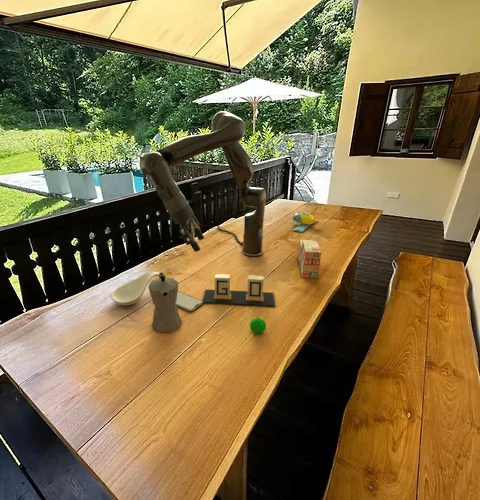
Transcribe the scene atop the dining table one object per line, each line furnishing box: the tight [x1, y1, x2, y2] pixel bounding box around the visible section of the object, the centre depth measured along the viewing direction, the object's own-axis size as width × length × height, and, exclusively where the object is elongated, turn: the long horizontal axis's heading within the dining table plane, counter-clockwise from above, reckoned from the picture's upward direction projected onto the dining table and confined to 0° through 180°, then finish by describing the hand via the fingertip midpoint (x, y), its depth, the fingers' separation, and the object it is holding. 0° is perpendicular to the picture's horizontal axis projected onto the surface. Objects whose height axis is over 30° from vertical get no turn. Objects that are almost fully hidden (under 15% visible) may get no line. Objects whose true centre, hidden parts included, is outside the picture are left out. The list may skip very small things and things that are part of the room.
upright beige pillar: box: [246, 274, 264, 300], centre depth 110 cm, size 3×6×8 cm, turn 83°
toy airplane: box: [292, 212, 319, 233], centre depth 190 cm, size 28×9×15 cm
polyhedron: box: [249, 317, 267, 335], centre depth 94 cm, size 5×5×5 cm
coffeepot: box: [147, 271, 181, 333], centre depth 97 cm, size 15×9×18 cm, turn 13°
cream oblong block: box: [214, 273, 231, 298], centre depth 112 cm, size 3×6×8 cm, turn 83°
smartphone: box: [175, 290, 204, 312], centre depth 112 cm, size 7×1×15 cm
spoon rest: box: [110, 271, 160, 306], centre depth 116 cm, size 24×12×7 cm, turn 140°
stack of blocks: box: [297, 239, 322, 279], centre depth 134 cm, size 21×6×12 cm, turn 170°
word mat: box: [202, 289, 276, 308], centre depth 113 cm, size 26×9×1 cm, turn 83°
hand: (199, 244), depth 110 cm, fingers open, 8 cm apart
